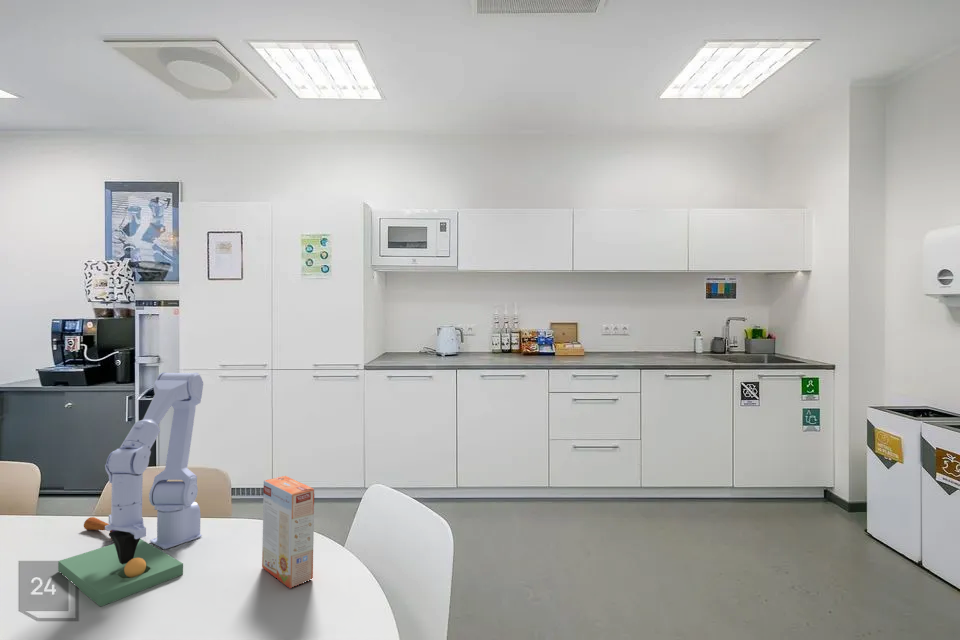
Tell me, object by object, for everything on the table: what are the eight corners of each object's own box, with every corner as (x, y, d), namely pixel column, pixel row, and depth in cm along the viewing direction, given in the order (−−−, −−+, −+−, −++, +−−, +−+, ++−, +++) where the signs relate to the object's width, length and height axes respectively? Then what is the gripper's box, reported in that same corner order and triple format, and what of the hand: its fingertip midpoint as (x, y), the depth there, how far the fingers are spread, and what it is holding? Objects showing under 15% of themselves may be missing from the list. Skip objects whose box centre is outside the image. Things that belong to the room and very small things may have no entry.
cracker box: (314, 580, 114) (316, 487, 114) (289, 590, 110) (290, 494, 110) (285, 559, 124) (286, 474, 123) (261, 568, 119) (262, 479, 119)
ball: (141, 566, 114) (139, 551, 114) (150, 574, 112) (148, 558, 111) (121, 577, 111) (119, 561, 110) (130, 584, 109) (128, 568, 108)
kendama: (104, 510, 143) (146, 518, 134) (100, 533, 141) (143, 542, 133) (80, 513, 137) (122, 522, 129) (76, 537, 136) (118, 547, 127)
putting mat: (136, 546, 129) (136, 536, 129) (183, 574, 116) (183, 563, 116) (58, 571, 116) (58, 561, 116) (100, 606, 102) (100, 594, 102)
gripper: (93, 500, 115) (92, 559, 115) (120, 514, 107) (119, 578, 107) (128, 491, 121) (127, 548, 121) (156, 504, 112) (155, 565, 112)
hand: (126, 561), depth 114 cm, fingers closed
